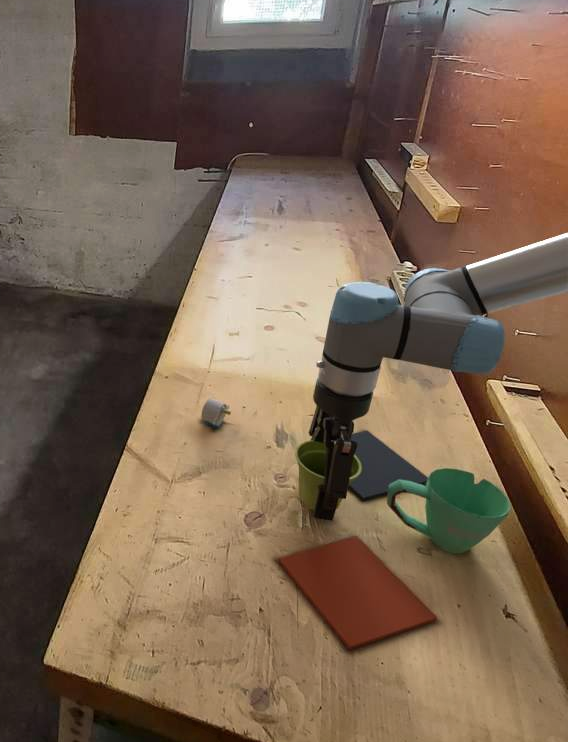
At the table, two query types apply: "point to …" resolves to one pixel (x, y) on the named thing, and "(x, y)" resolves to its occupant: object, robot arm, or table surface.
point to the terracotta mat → (355, 592)
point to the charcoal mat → (379, 467)
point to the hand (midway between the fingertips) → (317, 497)
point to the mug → (453, 508)
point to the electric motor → (214, 412)
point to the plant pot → (316, 470)
